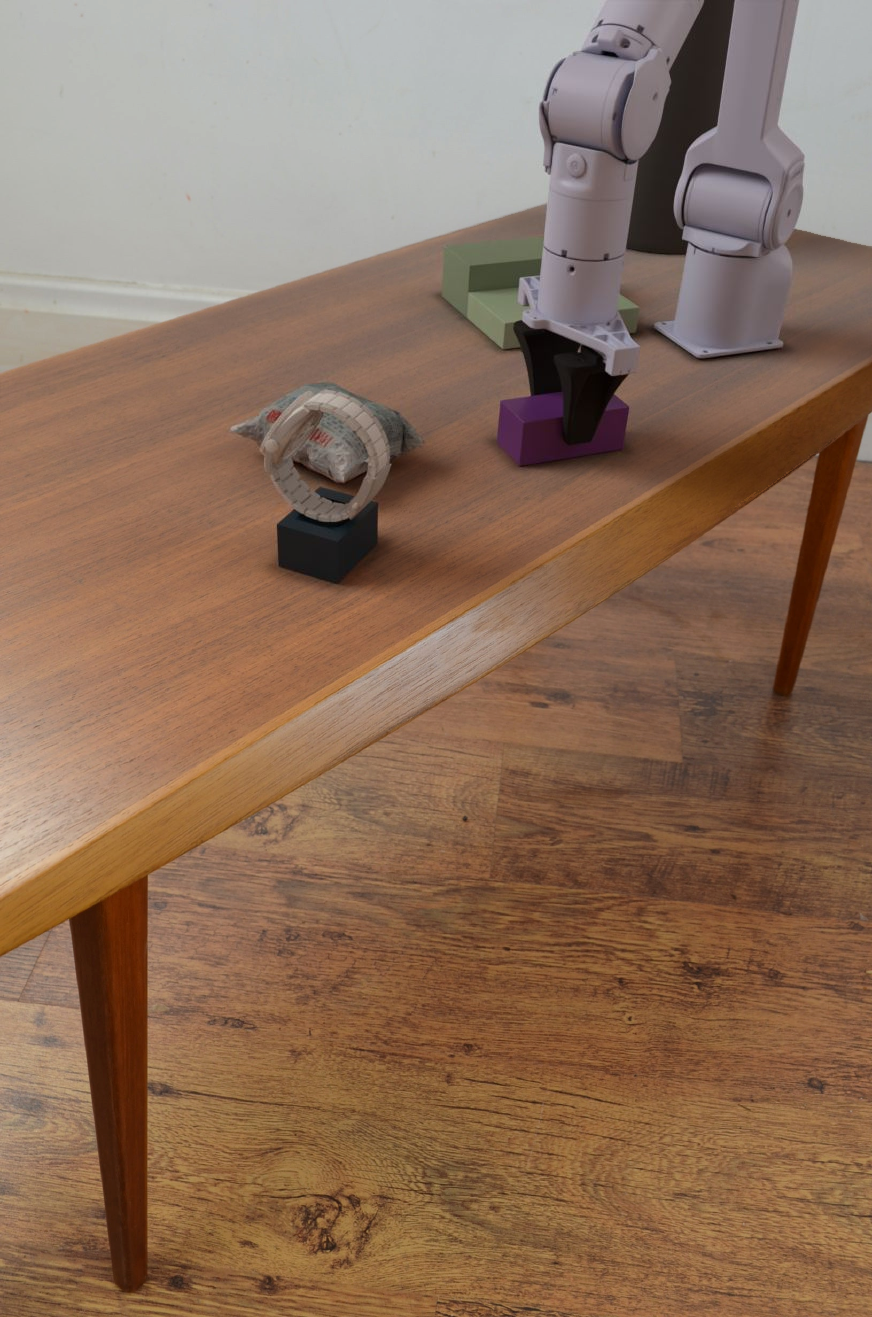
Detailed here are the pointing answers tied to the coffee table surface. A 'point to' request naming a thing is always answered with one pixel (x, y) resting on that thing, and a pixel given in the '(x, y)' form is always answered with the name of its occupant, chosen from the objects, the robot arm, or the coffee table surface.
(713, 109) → the vase
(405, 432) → the packaged food
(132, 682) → the coffee table surface
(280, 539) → the watch
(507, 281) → the step shelf
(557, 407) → the purple rectangular block
